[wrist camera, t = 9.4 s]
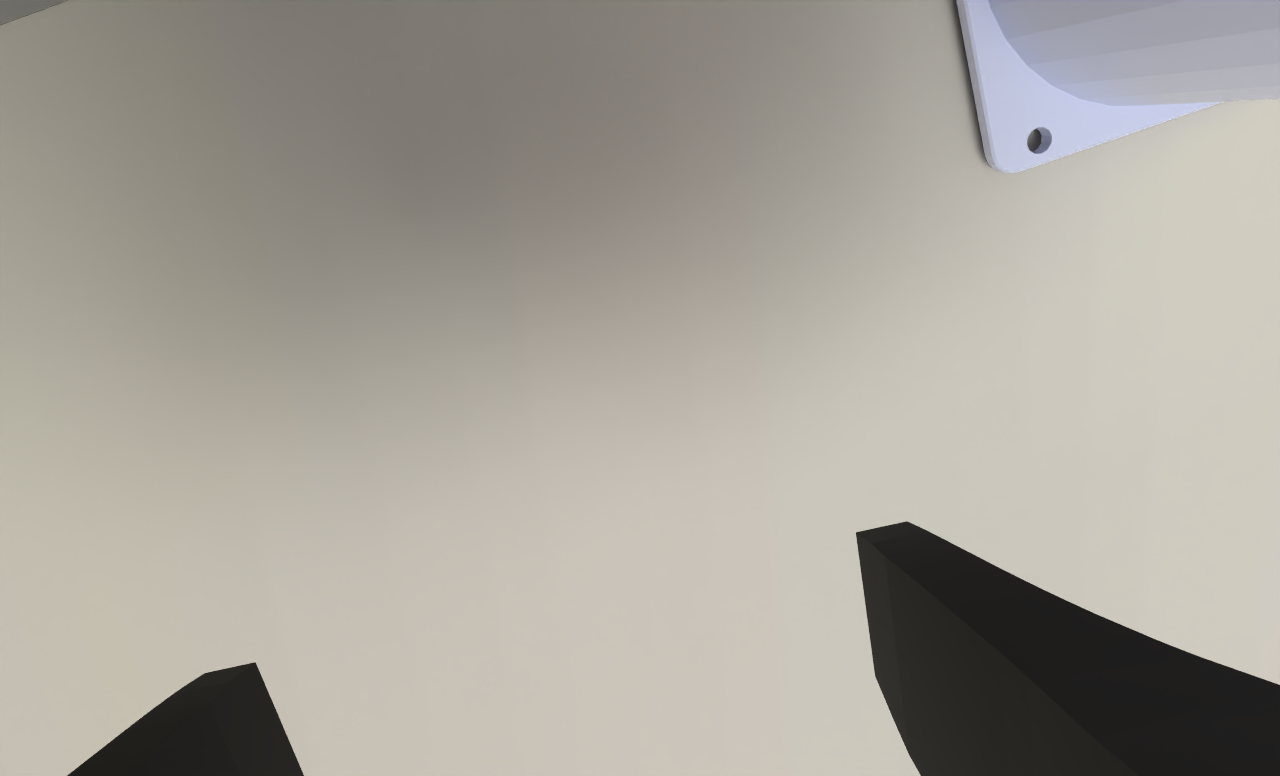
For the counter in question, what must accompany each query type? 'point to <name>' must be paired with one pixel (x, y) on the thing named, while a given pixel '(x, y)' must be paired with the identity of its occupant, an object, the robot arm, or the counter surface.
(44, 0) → the outlet box
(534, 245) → the counter surface
